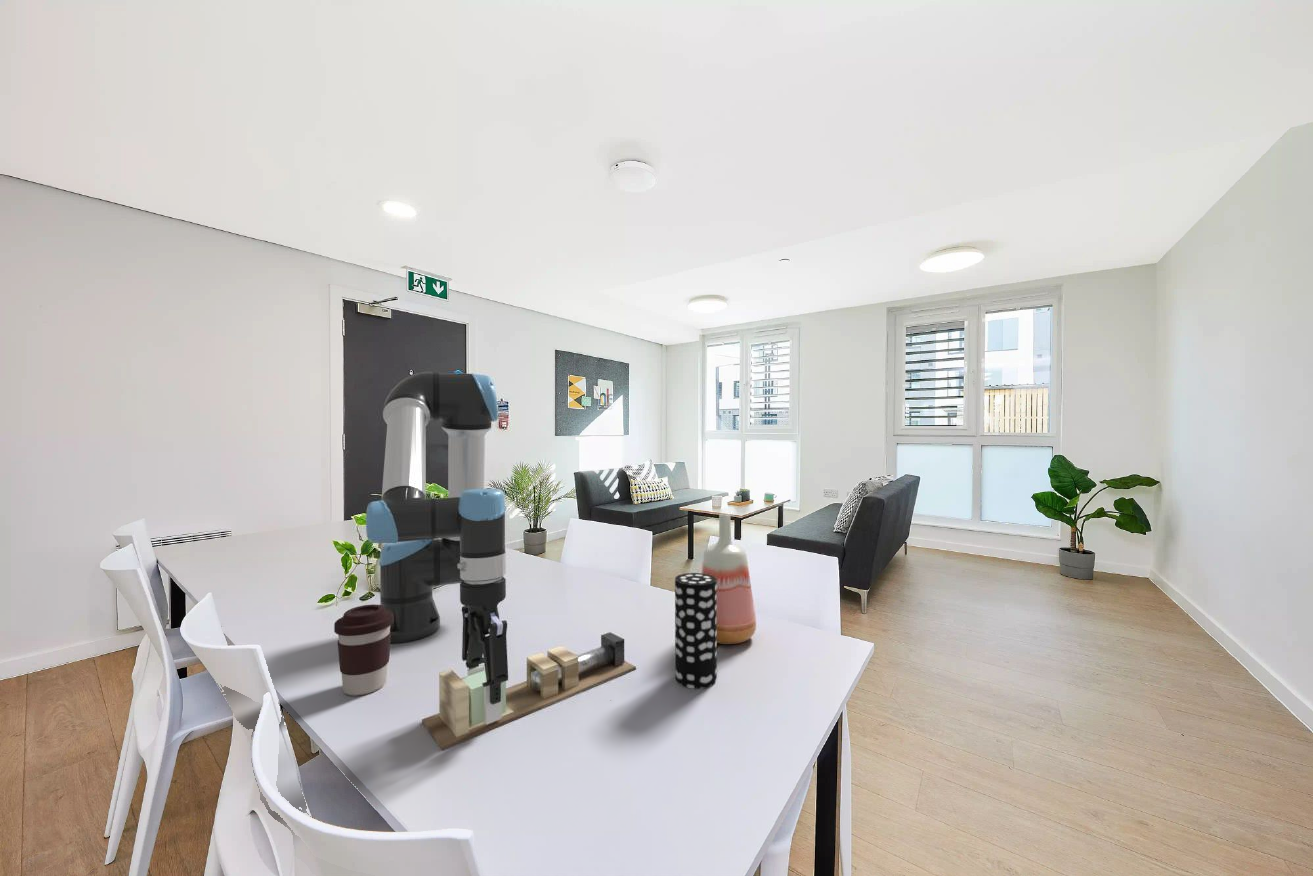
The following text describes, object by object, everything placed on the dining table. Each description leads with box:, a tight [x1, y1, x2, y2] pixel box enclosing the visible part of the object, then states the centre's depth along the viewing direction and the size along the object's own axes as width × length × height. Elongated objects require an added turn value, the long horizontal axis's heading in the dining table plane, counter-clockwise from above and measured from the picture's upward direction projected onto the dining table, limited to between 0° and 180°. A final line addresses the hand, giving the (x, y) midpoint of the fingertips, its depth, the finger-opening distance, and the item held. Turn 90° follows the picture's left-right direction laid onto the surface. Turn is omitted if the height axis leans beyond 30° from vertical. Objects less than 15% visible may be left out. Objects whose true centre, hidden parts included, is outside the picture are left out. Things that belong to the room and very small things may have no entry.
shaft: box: [530, 632, 625, 691], centre depth 99 cm, size 5×19×5 cm, turn 132°
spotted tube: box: [674, 572, 718, 690], centre depth 98 cm, size 8×8×20 cm
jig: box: [421, 645, 637, 751], centre depth 93 cm, size 10×39×8 cm, turn 132°
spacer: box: [460, 669, 507, 725], centre depth 85 cm, size 5×6×6 cm
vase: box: [701, 513, 757, 645], centre depth 118 cm, size 14×14×30 cm
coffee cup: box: [333, 604, 394, 696], centre depth 95 cm, size 10×10×15 cm
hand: (484, 712), depth 85 cm, fingers open, 6 cm apart
